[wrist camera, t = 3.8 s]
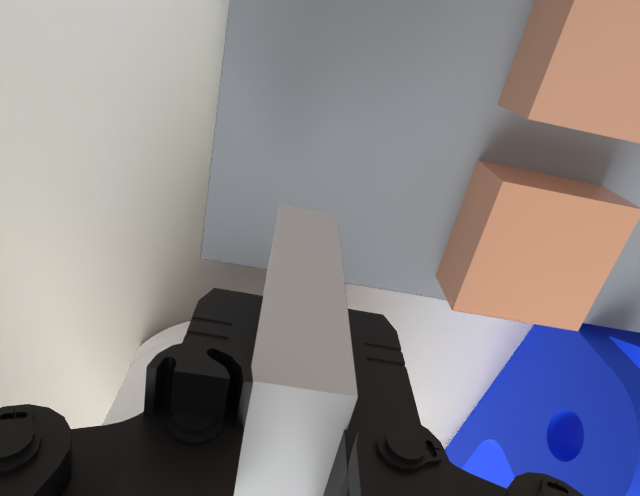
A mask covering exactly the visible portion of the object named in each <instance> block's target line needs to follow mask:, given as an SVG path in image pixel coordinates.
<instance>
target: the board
mask: <svg viewBox="0 0 640 496" xmlns="http://www.w3.org/2000/svg"><path fill="white" fill-rule="evenodd" d="M534 3H535V0H230V2H229V11H228V20H227V29H226V38H225V46H224V55H223V64H222V73H221V82H220V91H219V99H218V108H217V117H216V126H215V135H214V143H213V152H212V161H211V170H210V179H209V188H208V196H207V205H206V214H205V223H204V232H203V240H202V249H201V259H207V260H213V261H219V262H225V263H231V264H237V265H243V266H249V267H254V268H260V269H266V270H268V264H269V259H270V253H271V248H272V242H273V237H274V232H275V226H276V221H277V215H278V210H279V204H280V203H281V204H286V205H291V206H296V207H302V208H307V209H312V210H317V211H323V212H328V213H333V214H337V223H338V231H339V240H340V248H341V257H342V266H343V274H344V283H349V284H355V285H361V286H367V287H373V288H379V289H385V290H391V291H396V292H402V293H408V294H414V295H420V296H426V297H432V298H438V299H444V300H447V299H446V297H445V295H444V293H443V291H442V289H441V287H440V285H439V283H438V281H437V279H436V277H435V276H436V274H437V271H438V268H439V265H440V263H441V260H442V257H443V254H444V252H445V249H446V246H447V243H448V241H449V238H450V235H451V232H452V229H453V227H454V224H455V221H456V218H457V216H458V213H459V210H460V207H461V205H462V202H463V199H464V196H465V193H466V191H467V188H468V185H469V182H470V180H471V177H472V174H473V171H474V169H475V166H476V163H477V160H481V161H486V162H491V163H495V164H500V165H505V166H510V167H515V168H520V169H524V170H529V171H534V172H539V173H544V174H549V175H554V176H558V177H563V178H568V179H573V180H578V181H583V182H587V183H592V184H597V185H602V186H604V187H605V188H607V189H609V190H610V191H612V192H614V193H616V194H617V195H619V196H621V197H623V198H624V199H626V200H628V201H630V202H631V203H633V204H635V205H636V206H638V207H640V144H639V143H635V142H630V141H626V140H621V139H616V138H612V137H607V136H603V135H598V134H594V133H589V132H585V131H580V130H576V129H571V128H566V127H562V126H557V125H553V124H548V123H544V122H539V121H535V120H530V119H527V118H525V117H522V116H520V115H518V114H516V113H514V112H512V111H510V110H508V109H505V108H503V107H501V106H499V105H498V102H499V99H500V97H501V94H502V91H503V88H504V86H505V83H506V80H507V77H508V75H509V72H510V69H511V66H512V64H513V61H514V58H515V55H516V52H517V50H518V47H519V44H520V41H521V39H522V36H523V33H524V30H525V28H526V25H527V22H528V19H529V17H530V14H531V11H532V8H533V5H534ZM583 323H586V324H592V325H598V326H604V327H609V328H615V329H621V330H627V331H633V332H639V333H640V218H639V220H638V222H637V224H636V225H635V227H634V229H633V231H632V233H631V235H630V236H629V238H628V240H627V242H626V244H625V246H624V247H623V249H622V251H621V253H620V255H619V257H618V259H617V260H616V262H615V264H614V266H613V268H612V270H611V271H610V273H609V275H608V277H607V279H606V281H605V283H604V284H603V286H602V288H601V290H600V292H599V294H598V295H597V297H596V299H595V301H594V303H593V305H592V307H591V308H590V310H589V312H588V314H587V316H586V318H585V319H584V321H583Z"/></svg>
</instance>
